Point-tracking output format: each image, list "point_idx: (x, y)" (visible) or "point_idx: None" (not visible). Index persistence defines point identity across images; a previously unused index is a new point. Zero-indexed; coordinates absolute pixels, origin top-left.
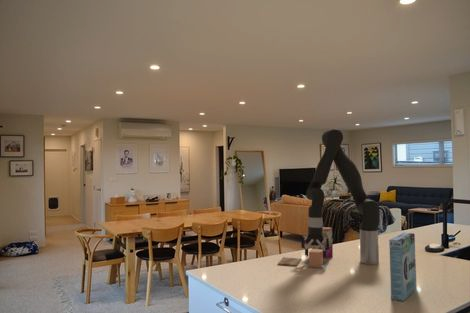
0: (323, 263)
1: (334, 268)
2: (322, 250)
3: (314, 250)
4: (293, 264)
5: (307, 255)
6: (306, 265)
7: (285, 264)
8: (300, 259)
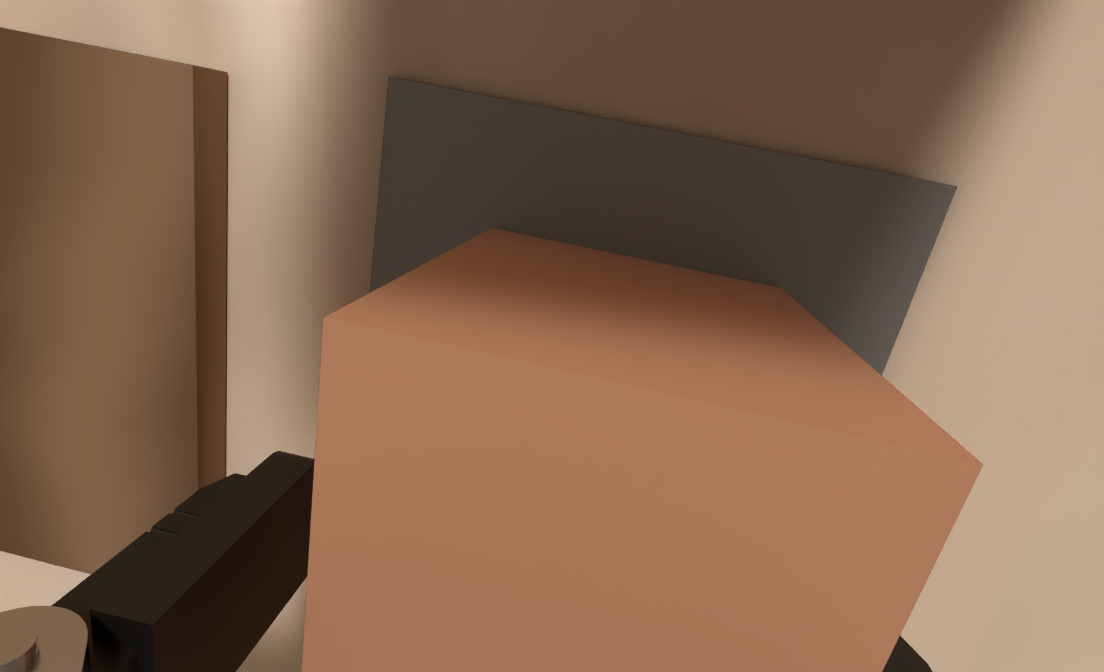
0: None
1: (943, 654)
2: (894, 638)
3: (480, 627)
4: None
5: (295, 584)
6: None
7: (2, 544)
8: (189, 158)
